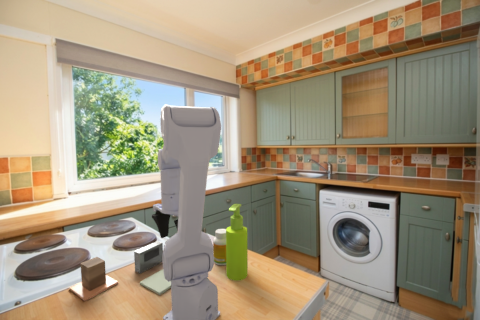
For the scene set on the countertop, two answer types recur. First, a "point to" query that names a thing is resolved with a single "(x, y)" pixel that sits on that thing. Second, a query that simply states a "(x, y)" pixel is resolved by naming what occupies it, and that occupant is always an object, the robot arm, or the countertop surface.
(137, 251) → the grey unit
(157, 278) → the sage tile
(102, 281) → the walnut block
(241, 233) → the soap dispenser
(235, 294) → the countertop surface
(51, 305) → the countertop surface
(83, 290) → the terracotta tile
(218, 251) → the supplement bottle
